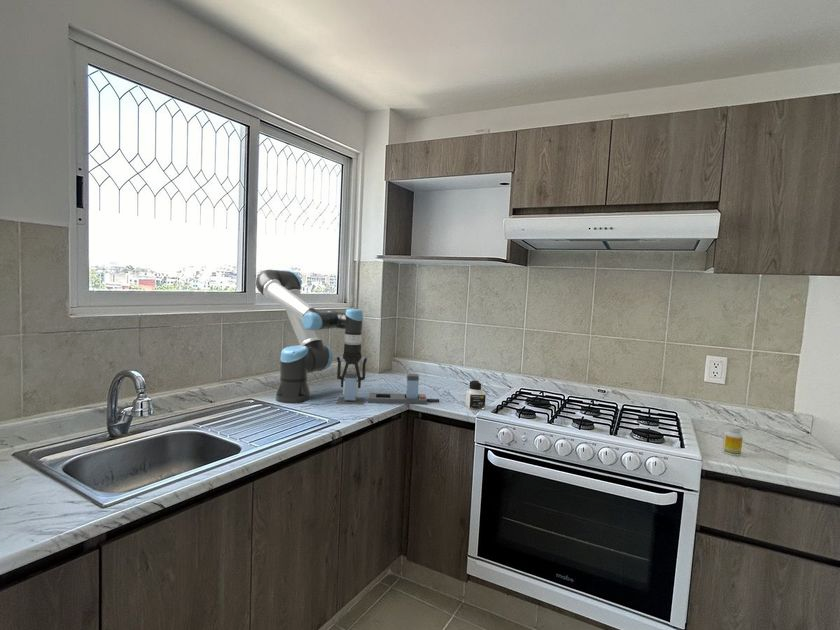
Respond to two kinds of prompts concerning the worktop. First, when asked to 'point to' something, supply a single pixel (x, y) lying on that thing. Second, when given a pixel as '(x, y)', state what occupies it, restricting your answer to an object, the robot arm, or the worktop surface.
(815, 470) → the worktop surface
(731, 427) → the supplement bottle
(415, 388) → the twin plug
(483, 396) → the medicine bottle
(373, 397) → the strip
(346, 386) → the plug
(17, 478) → the worktop surface
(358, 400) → the mat
